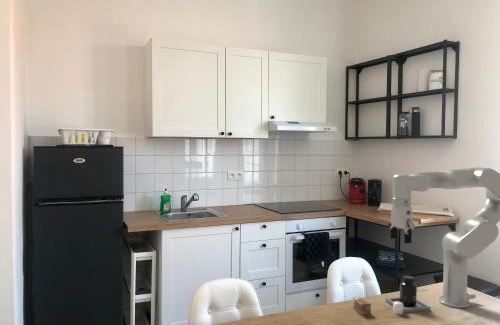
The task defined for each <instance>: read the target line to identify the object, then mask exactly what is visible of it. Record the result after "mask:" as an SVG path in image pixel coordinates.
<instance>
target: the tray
mask: <svg viewBox="0 0 500 325" xmlns="http://www.w3.org/2000/svg"><path fill="white" fill-rule="evenodd" d="M395 301H398V302H400V296H398V297H397V296H395V297H386V298H385V302H386V303H388V304H389V305H390V306H392V307H393V302H395ZM431 308H432V307H431V306H430V305H428V304H426V303H424V302H422V301H421V300H419V299H418V298H417V299H416V306H415V307H406V306H403V314H404V313H417V312H427V311H429V312H430V311H431V310H432V309H431Z"/></svg>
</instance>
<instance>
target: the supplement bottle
mask: <svg viewBox="0 0 500 325" xmlns="http://www.w3.org/2000/svg"><path fill="white" fill-rule="evenodd" d="M417 289H418V286H417V284H416V281H415V277H414V276H411V275H403V276H402V282H400V284H399V297H400V302H402V303H403V306H406V307H415V306H416V299H417V300H418V296H417V295H418V292H417V291H418V290H417Z"/></svg>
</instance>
